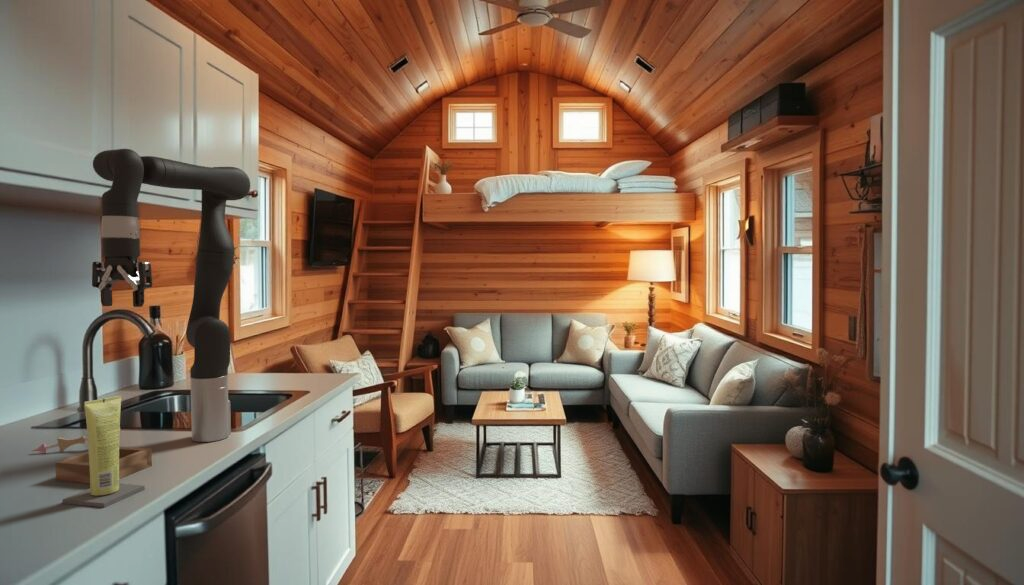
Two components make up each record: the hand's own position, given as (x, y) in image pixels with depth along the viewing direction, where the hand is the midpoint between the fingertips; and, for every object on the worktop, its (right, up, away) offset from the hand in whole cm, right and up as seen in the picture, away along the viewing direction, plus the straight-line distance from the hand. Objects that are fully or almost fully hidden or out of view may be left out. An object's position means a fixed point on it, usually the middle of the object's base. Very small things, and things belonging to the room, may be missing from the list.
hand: (122, 306), depth 143 cm
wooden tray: (-3, -38, -2) cm, 38 cm away
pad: (+6, -39, -16) cm, 43 cm away
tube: (+7, -38, -16) cm, 42 cm away
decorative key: (-22, -38, +15) cm, 46 cm away
